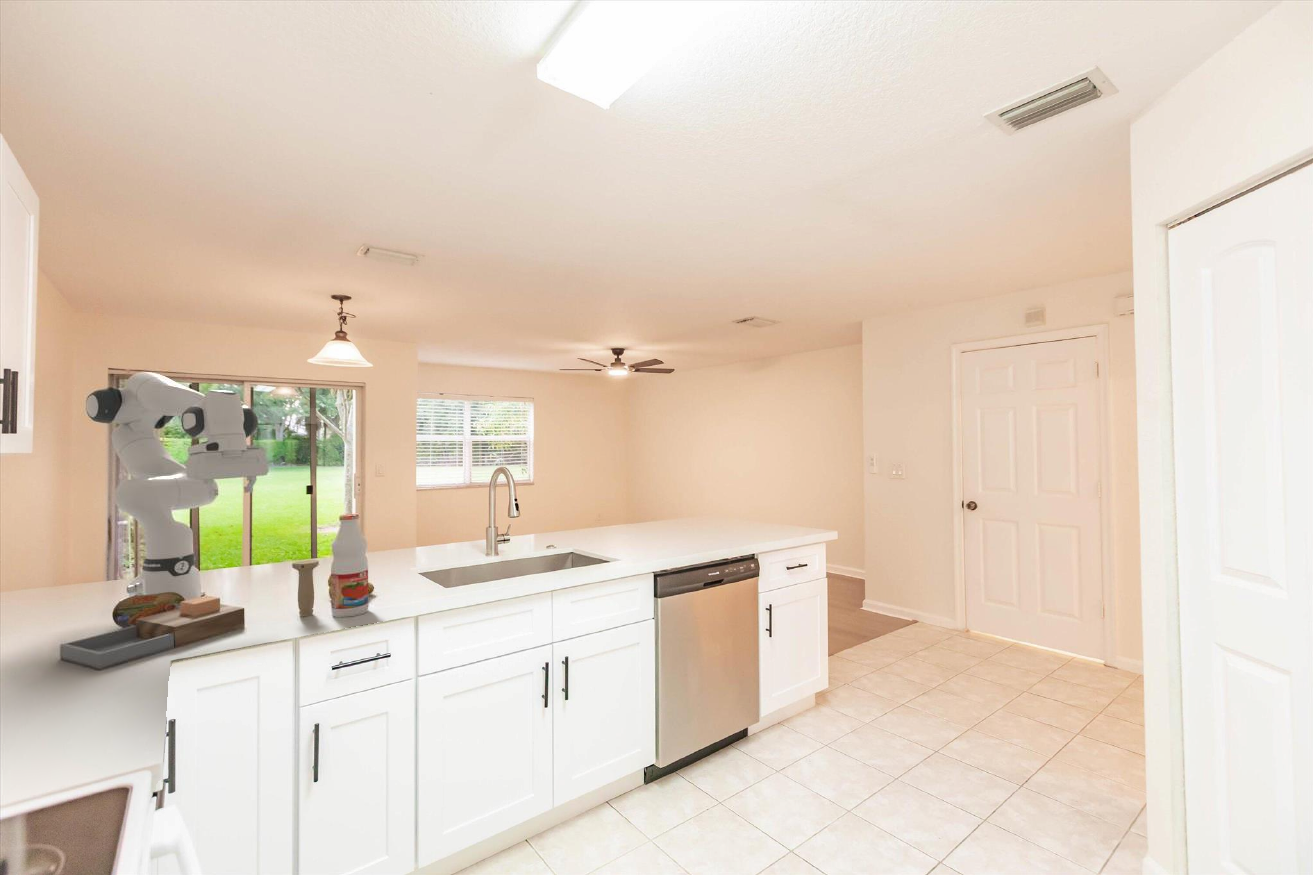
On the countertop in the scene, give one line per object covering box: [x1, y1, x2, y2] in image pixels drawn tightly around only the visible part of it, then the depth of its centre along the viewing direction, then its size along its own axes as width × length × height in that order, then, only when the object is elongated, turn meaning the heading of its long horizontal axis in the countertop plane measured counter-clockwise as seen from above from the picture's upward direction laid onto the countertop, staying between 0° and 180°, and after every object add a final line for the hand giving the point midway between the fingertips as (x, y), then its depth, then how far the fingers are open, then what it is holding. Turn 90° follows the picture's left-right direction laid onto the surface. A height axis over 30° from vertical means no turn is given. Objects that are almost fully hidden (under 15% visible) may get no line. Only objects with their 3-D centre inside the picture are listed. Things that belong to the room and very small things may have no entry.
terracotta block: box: [180, 595, 221, 616], centre depth 151 cm, size 6×6×3 cm
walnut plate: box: [136, 603, 245, 648], centre depth 149 cm, size 16×16×5 cm
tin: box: [111, 592, 185, 629], centre depth 156 cm, size 15×3×8 cm, turn 117°
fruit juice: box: [330, 513, 370, 618], centre depth 165 cm, size 9×9×28 cm
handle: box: [291, 559, 320, 617], centre depth 163 cm, size 5×6×15 cm
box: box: [59, 626, 175, 671], centre depth 135 cm, size 16×14×4 cm
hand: (231, 494), depth 164 cm, fingers open, 8 cm apart
